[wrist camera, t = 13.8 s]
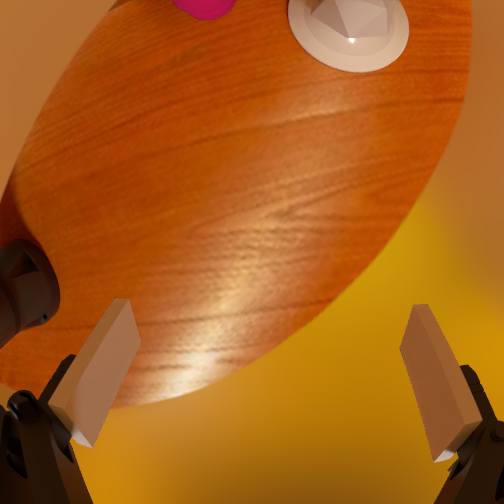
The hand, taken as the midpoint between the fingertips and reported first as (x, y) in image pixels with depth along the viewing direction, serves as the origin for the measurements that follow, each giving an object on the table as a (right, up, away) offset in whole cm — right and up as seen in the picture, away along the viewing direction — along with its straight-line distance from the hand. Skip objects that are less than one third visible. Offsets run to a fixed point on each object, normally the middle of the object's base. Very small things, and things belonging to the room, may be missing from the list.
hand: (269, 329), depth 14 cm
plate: (+10, +30, +14) cm, 35 cm away
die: (+10, +29, +13) cm, 34 cm away
